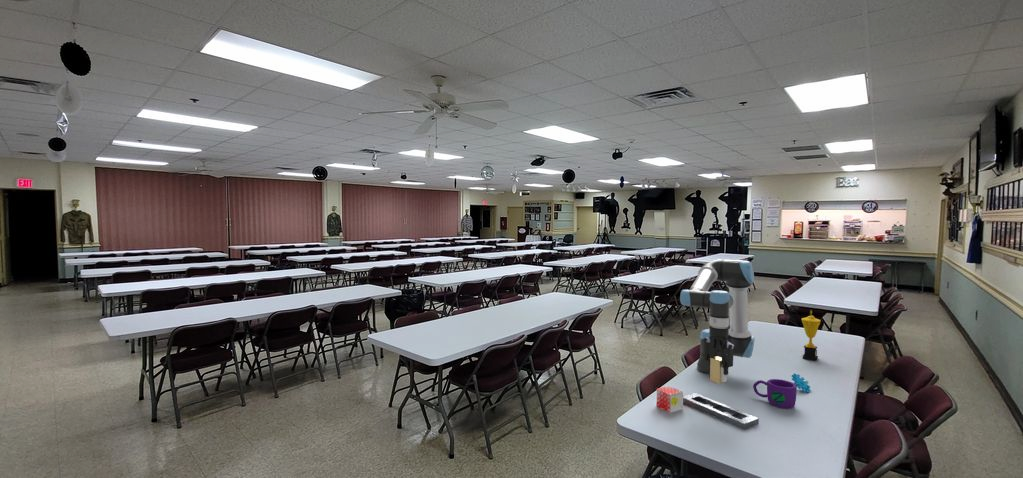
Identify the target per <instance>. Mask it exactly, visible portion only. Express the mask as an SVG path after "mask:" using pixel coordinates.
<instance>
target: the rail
mask: <svg viewBox="0 0 1023 478" xmlns="http://www.w3.org/2000/svg"><path fill="white" fill-rule="evenodd" d="M683 405H687V406H689V407H691V408H693V409H696V410H698V411H700V412H703V413H705V414H708V415H710V416H712V417H714V418H716V419H718V420H720V421H723V422H725V423H728V424H730V425H733V426H735V427H737V428H739V429H742V430H743V431H745V430H747V429H750V428H752V427H756V426H757V425H759V424H760V421H759V420H760V419H759V417H756V416H755V415H751V414H749V413H747V412H744V411H742V410H739V409H737V408H734V407H732V406H729V405H727V404H725V403H721V402H719V401H717V400H714V399H712V398H709V397H707V396H704V395H701V394H700V393H696V392H694V393H691V394H687V395H683Z"/></svg>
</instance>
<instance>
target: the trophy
mask: <svg viewBox="0 0 1023 478" xmlns="http://www.w3.org/2000/svg"><path fill="white" fill-rule="evenodd" d="M812 314H813V310H810V315H808V316H806V317H802V318H801V323H802V325H803V329H804V332H805V335H806V337H807V338H808V340H809V341H808V342H807V343H806V344H804V346H803V348H804V351H803V352H804V353H803V354H802V359H804V360H808V361H815V362H817V361H818V359H819V355H818V346H815V344H814V343H813V338H815V337H816V335H817V332H818V330H819V329H818V328H819V326H820V325H821V319H818V318H816V317H815V316H814V315H812Z"/></svg>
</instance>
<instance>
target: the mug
mask: <svg viewBox="0 0 1023 478" xmlns="http://www.w3.org/2000/svg"><path fill="white" fill-rule="evenodd" d="M760 384H761V385H762V384H763V385H764V386H766V394H765V393H761V392H759V390H758V389H757V386H759V385H760ZM752 388H753V391H754V393H755V394H756V395H757V396H758V397H761V398H767V401H768V402H769V404H770V405H772V406H774V407H777V408H779V409H785V410H786V409H788V410H789V409H792V408H794V407H795V406H796V401H797V388H798V387H797V386H796V385H795V384H794V382H792V381H789V380H785V379H779V378H771V379H768V380H767V381H764V380H761V379H760V380H757V381H755V382H754V383H753V385H752Z"/></svg>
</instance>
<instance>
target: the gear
mask: <svg viewBox="0 0 1023 478" xmlns="http://www.w3.org/2000/svg"><path fill="white" fill-rule="evenodd" d="M791 380H792V381H793V383H794V384H795V385H796V386H797V388H798V390H800V389H801V391H802V393H806V394H809V393H810V392H811V386H810V385H809V380H805V378H804V377H803V376H802V377H801V375H800V374H799V373H796V372H795V373H793V374H792V375H791Z"/></svg>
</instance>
